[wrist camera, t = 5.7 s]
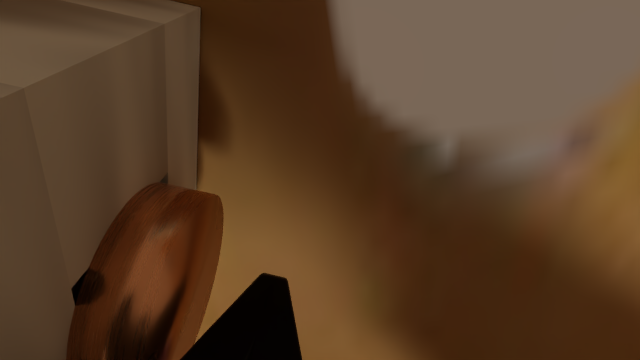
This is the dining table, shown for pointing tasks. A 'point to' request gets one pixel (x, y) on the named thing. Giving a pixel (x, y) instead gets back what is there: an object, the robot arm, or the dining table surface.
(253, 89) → the dining table surface
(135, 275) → the pin
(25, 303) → the block
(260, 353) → the robot arm
